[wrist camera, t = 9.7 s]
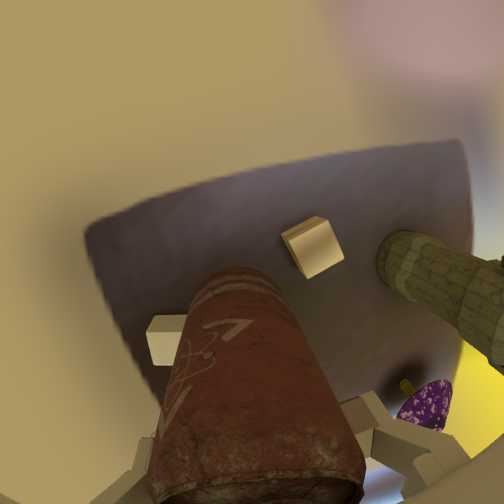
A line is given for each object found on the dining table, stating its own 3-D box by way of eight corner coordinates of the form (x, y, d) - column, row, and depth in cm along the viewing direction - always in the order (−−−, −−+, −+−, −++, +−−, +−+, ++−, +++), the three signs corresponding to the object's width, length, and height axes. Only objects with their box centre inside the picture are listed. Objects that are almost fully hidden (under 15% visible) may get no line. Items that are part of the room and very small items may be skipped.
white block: (194, 345, 38) (191, 365, 33) (161, 345, 38) (153, 365, 33) (189, 314, 37) (185, 331, 32) (154, 315, 36) (145, 332, 32)
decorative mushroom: (422, 341, 42) (472, 386, 27) (430, 380, 45) (468, 422, 30) (366, 380, 42) (405, 437, 28) (380, 414, 45) (412, 464, 31)
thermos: (382, 304, 39) (550, 460, 5) (367, 232, 36) (616, 354, 2) (425, 281, 39) (595, 392, 5) (414, 211, 36) (636, 280, 2)
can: (197, 354, 19) (176, 547, 5) (186, 267, 17) (101, 466, 4) (283, 349, 19) (348, 532, 5) (284, 262, 18) (411, 439, 4)
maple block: (330, 249, 36) (344, 258, 32) (297, 267, 37) (307, 279, 32) (314, 215, 35) (327, 219, 30) (280, 233, 35) (288, 241, 31)
